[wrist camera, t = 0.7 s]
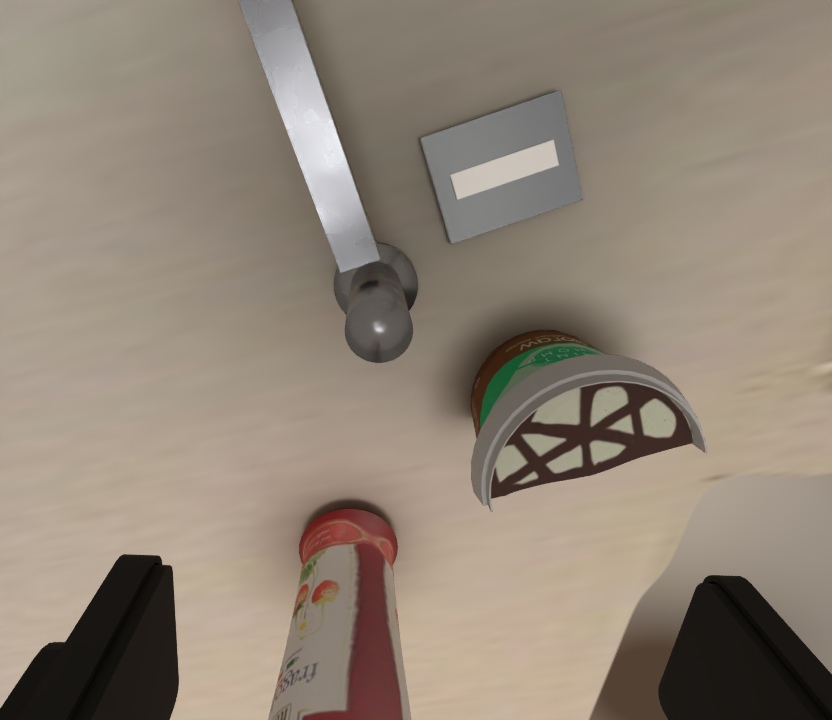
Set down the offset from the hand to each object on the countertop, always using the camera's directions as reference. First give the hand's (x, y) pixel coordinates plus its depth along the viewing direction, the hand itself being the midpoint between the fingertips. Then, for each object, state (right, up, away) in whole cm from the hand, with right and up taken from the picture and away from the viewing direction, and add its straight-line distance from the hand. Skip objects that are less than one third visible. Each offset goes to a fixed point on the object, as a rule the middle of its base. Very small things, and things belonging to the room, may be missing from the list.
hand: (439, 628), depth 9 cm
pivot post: (-3, +9, +23) cm, 25 cm away
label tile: (+4, +16, +21) cm, 27 cm away
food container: (+7, +5, +26) cm, 27 cm away
